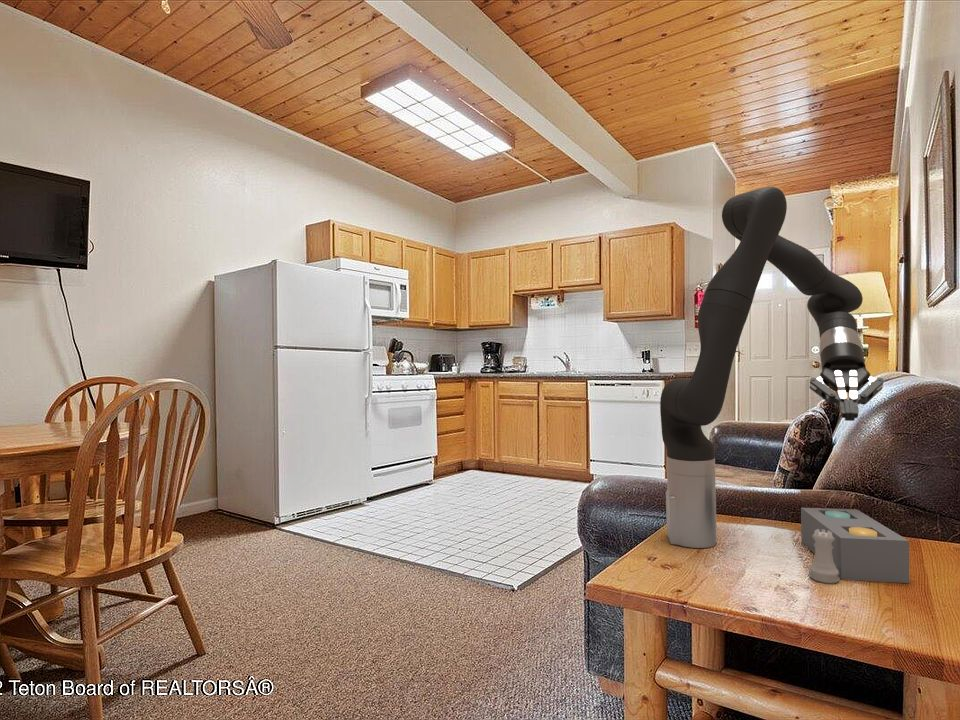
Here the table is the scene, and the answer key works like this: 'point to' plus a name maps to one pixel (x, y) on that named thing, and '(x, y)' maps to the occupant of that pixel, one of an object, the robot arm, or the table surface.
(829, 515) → the teal button
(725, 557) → the table surface
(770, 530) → the table surface
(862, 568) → the console
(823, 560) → the rook chess piece
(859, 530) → the amber button
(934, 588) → the table surface
